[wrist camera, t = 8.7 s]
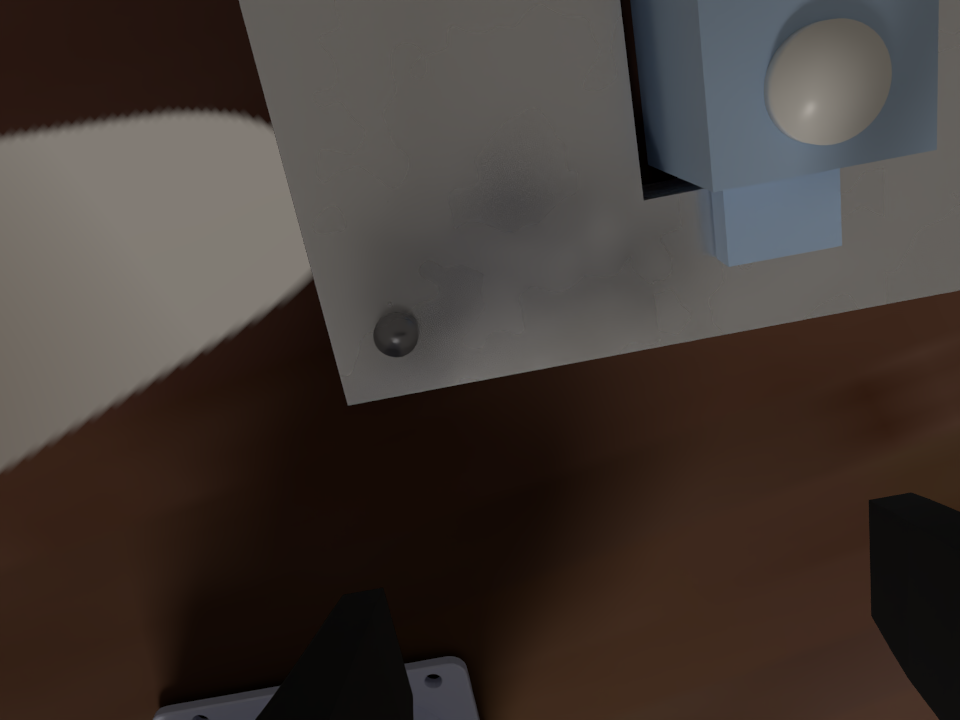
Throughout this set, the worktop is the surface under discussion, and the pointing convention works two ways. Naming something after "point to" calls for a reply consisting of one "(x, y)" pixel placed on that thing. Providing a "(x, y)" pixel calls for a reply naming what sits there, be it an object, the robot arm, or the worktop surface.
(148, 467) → the worktop surface
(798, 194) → the servo
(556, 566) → the worktop surface
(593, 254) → the plate
